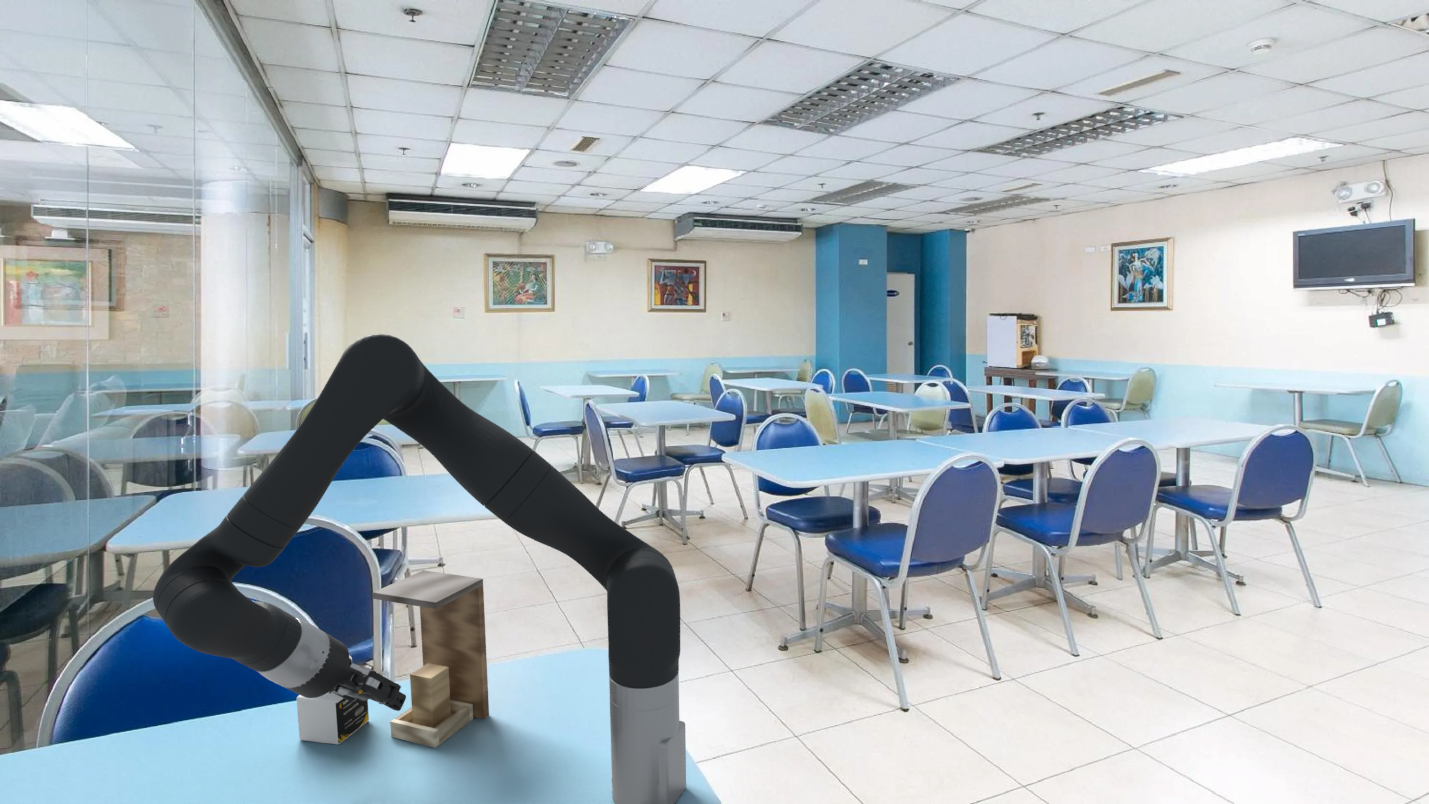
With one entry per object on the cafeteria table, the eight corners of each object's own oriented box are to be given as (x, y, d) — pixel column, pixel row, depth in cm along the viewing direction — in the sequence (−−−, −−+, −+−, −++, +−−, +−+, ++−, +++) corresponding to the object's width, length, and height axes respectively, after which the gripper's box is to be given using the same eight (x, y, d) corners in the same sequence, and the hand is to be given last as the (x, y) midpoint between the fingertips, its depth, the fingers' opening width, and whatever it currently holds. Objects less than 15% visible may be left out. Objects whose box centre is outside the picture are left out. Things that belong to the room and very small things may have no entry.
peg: (451, 723, 118) (448, 666, 117) (433, 737, 114) (430, 678, 113) (431, 719, 120) (428, 663, 118) (413, 732, 116) (409, 674, 115)
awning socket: (489, 715, 120) (482, 578, 118) (443, 750, 111) (435, 602, 108) (430, 702, 125) (423, 570, 122) (381, 735, 115) (372, 592, 112)
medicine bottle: (339, 745, 112) (334, 670, 111) (298, 740, 114) (292, 666, 112) (370, 720, 119) (365, 649, 118) (331, 716, 121) (326, 646, 119)
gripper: (358, 635, 94) (429, 679, 106) (277, 622, 99) (353, 665, 111) (327, 695, 89) (404, 734, 101) (243, 678, 94) (327, 717, 106)
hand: (378, 698), depth 106 cm, fingers open, 8 cm apart
